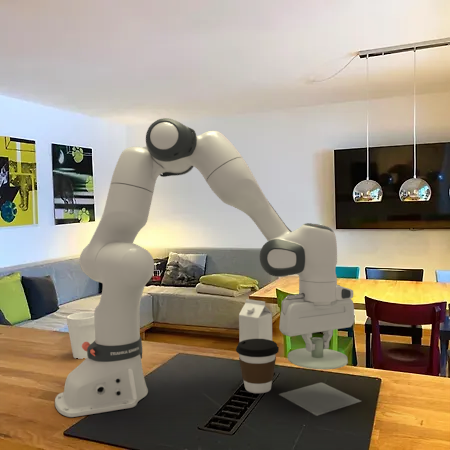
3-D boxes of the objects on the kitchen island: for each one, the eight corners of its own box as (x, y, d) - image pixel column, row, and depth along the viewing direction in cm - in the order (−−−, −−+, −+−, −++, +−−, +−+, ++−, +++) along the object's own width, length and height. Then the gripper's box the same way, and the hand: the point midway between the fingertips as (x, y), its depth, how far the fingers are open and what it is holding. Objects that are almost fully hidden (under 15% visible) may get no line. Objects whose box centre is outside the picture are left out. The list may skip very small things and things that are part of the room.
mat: (316, 418, 104) (316, 415, 104) (278, 396, 116) (278, 394, 116) (361, 403, 111) (361, 401, 111) (321, 384, 123) (321, 382, 123)
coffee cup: (230, 396, 117) (229, 348, 116) (244, 380, 127) (243, 336, 127) (273, 401, 113) (272, 352, 113) (283, 384, 123) (283, 339, 123)
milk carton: (253, 357, 145) (252, 297, 145) (272, 362, 141) (271, 299, 140) (239, 364, 140) (238, 301, 139) (259, 369, 135) (258, 304, 135)
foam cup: (104, 353, 152) (103, 314, 152) (82, 362, 145) (80, 320, 144) (84, 349, 158) (83, 311, 157) (62, 357, 150) (60, 317, 149)
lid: (313, 373, 102) (313, 350, 102) (276, 356, 115) (276, 335, 114) (360, 363, 109) (360, 341, 109) (320, 348, 121) (320, 328, 121)
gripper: (290, 297, 104) (290, 359, 104) (358, 290, 114) (358, 347, 114) (274, 293, 109) (273, 352, 110) (340, 286, 119) (339, 340, 120)
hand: (317, 349), depth 112 cm, fingers closed on lid, 3 cm apart
